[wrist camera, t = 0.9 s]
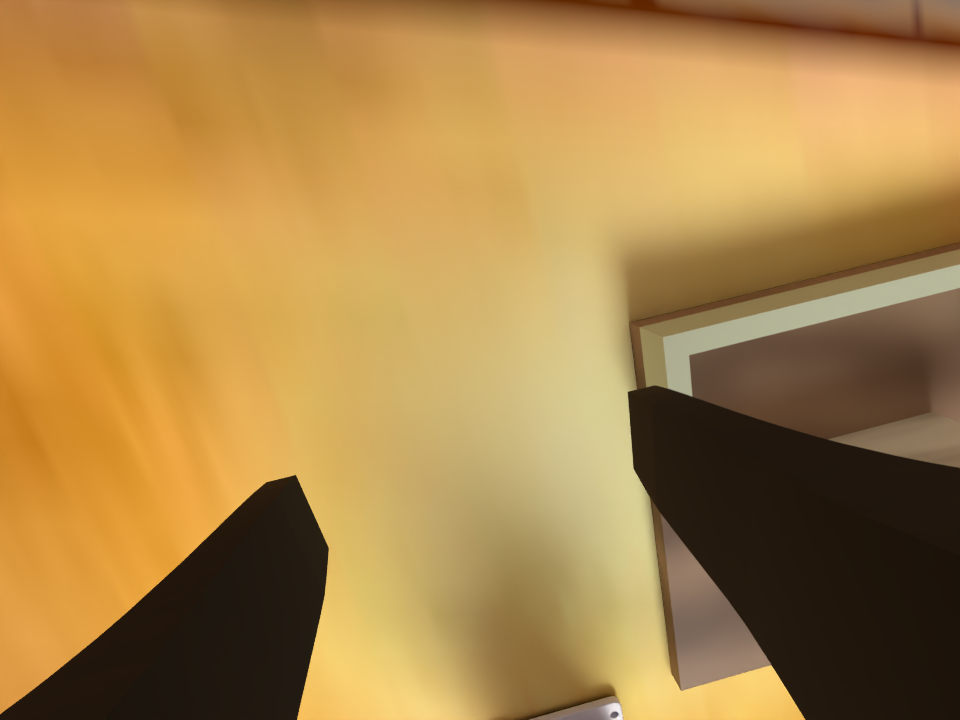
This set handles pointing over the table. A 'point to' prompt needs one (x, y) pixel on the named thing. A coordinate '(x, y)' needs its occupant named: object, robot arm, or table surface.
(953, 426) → the t block
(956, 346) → the board
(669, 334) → the off-white long channel
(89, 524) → the table surface
